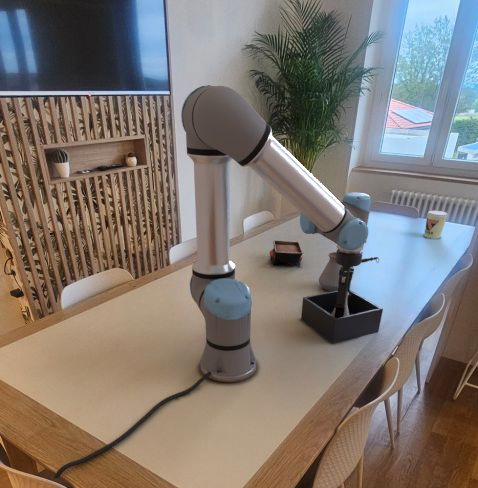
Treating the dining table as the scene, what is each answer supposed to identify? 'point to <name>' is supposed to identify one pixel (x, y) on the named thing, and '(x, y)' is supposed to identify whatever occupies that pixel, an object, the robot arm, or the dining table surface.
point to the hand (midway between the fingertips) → (339, 320)
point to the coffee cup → (435, 224)
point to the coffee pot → (334, 273)
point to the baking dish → (286, 252)
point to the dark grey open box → (339, 329)
